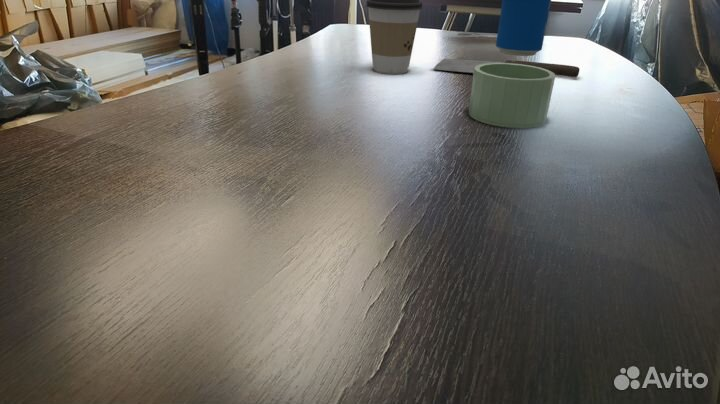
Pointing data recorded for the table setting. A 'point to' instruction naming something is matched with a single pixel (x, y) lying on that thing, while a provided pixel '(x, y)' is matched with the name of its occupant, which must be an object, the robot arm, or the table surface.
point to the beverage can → (522, 26)
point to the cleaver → (469, 65)
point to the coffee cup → (392, 33)
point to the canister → (511, 95)
